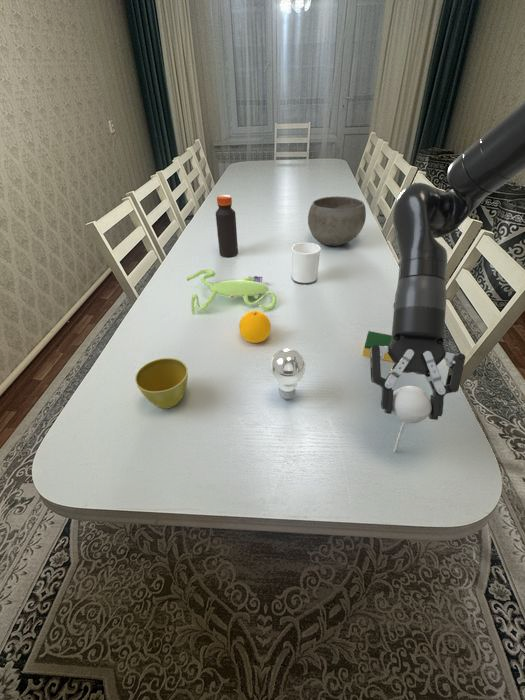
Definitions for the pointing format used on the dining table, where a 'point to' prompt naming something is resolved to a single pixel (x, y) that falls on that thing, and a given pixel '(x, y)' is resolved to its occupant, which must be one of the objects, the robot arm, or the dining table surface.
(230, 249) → the bottle
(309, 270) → the mug
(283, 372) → the light bulb
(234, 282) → the figurine
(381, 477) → the dining table surface
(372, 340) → the sponge
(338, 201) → the bowl
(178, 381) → the flower pot
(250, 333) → the orange
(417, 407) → the lollipop
